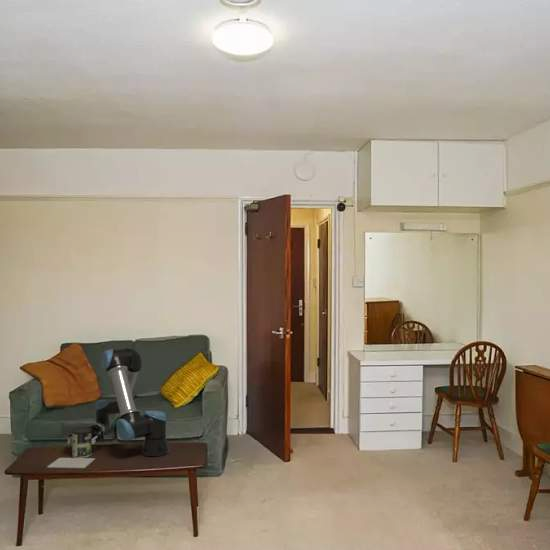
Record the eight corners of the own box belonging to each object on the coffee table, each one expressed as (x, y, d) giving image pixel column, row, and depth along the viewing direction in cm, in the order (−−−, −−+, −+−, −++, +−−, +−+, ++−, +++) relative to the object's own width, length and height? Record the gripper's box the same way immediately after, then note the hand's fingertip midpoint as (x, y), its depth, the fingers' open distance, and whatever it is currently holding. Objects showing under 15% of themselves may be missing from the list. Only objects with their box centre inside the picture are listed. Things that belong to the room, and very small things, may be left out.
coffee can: (95, 452, 297) (95, 427, 297) (85, 458, 287) (85, 433, 287) (78, 451, 299) (78, 426, 299) (68, 457, 289) (68, 432, 289)
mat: (95, 459, 286) (95, 458, 286) (84, 468, 272) (84, 467, 272) (59, 458, 288) (59, 457, 288) (46, 467, 274) (46, 466, 274)
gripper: (116, 437, 312) (102, 448, 291) (75, 436, 314) (58, 447, 293) (116, 424, 312) (102, 435, 291) (75, 423, 314) (58, 434, 293)
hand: (80, 441), depth 292 cm, fingers open, 13 cm apart
